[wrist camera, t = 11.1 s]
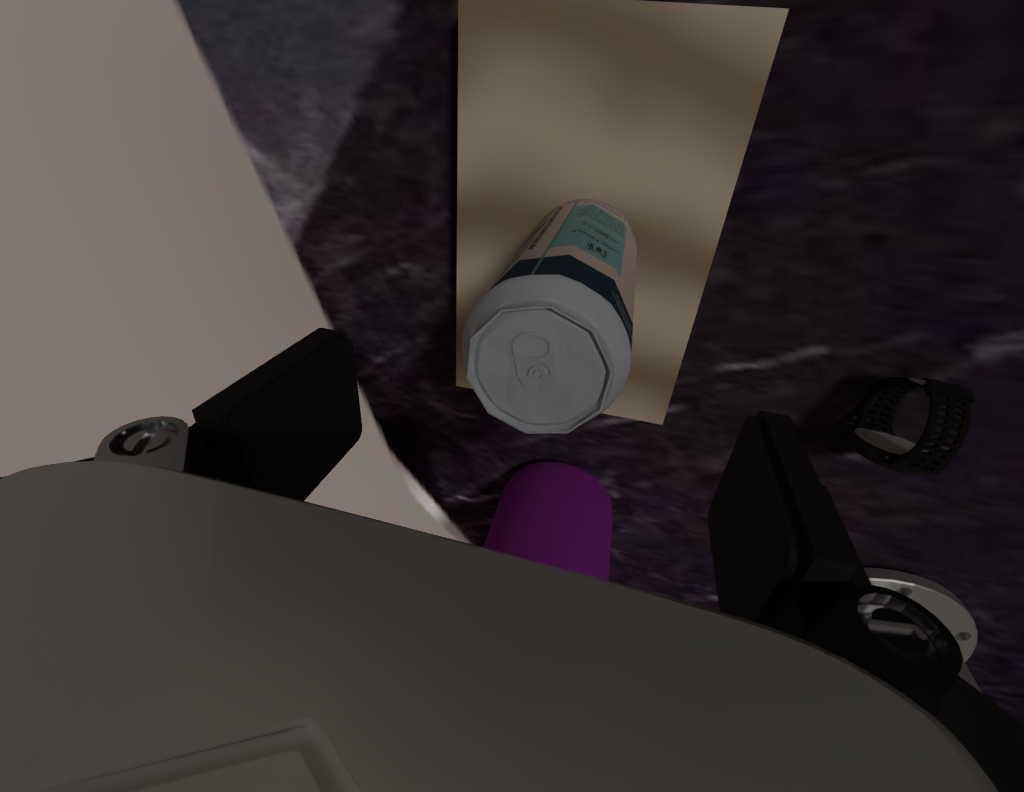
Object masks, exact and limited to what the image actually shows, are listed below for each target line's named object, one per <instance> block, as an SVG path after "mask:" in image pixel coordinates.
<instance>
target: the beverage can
mask: <svg viewBox="0 0 1024 792" xmlns="http://www.w3.org/2000/svg"><path fill="white" fill-rule="evenodd" d="M611 534H612V505H611V499H610V497H609V495H608V493H607V491H606V489H605V487H604V486H603V485H602V484H601V483H600V482H599V481H598V480H597V479H596V478H595V477H594V476H593V475H591V474H589V473H587V472H586V471H584V470H582V469H580V468H579V467H575V466H572V465H568V464H565V463H561V462H539V463H535V464H531V465H527V466H525V467H524V468H522V469H520V470H519V471H517V472H515V473H514V475H513V476H512V477H511V479H510V480H509V481H508V483H507V484H506V486H505V488H504V490H503V493H502V496H501V499H500V501H499V504H498V507H497V510H496V513H495V515H494V518H493V521H492V524H491V527H490V530H489V532H488V535H487V538H486V541H485V544H484V546H483V548H487V549H491V550H494V551H498V552H502V553H506V554H510V555H513V556H517V557H521V558H525V559H528V560H532V561H536V562H540V563H543V564H547V565H551V566H555V567H558V568H562V569H566V570H570V571H573V572H577V573H581V574H585V575H588V576H592V577H596V578H600V579H603V580H607V581H608V575H609V561H610V548H611Z"/></svg>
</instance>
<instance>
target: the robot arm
mask: <svg viewBox="0 0 1024 792" xmlns="http://www.w3.org/2000/svg"><path fill="white" fill-rule="evenodd" d="M192 412H193V415H194V418H195V421H196V423H195V424H193V425H192V426H190V427H188V425H187V423H185V422H184V421H183V420H181V419H178V418H175V417H164V416H162V417H151V418H146V419H142V420H137V421H135V422H132V423H129V424H126V425H123V426H122V427H120V428H118V429H116V430H114V431H112V432H111V433H110V434H109V435H107V436H106V437H105V438H104V439H103V441H102V442H101V443H100V445H99V447H98V450H97V453H96V455H95V457H93V458H88V459H84V460H79V461H75V462H66V463H58V464H51V465H45V466H39V467H33V468H29V469H26V470H22V471H19V472H17V473H14V474H11V475H9V476H6V477H1V478H0V792H1024V725H1023V724H1021V723H1020V722H1019V721H1017V720H1016V719H1015V718H1013V717H1012V716H1011V715H1010V714H1008V713H1007V712H1006V711H1004V710H1003V709H1002V708H1000V707H999V706H998V705H997V704H995V703H994V702H993V701H991V700H990V699H989V698H988V697H986V696H985V695H984V694H982V692H981V691H980V689H979V687H978V685H977V683H976V682H975V680H974V678H973V676H972V675H971V673H970V671H969V669H968V668H967V666H966V664H965V662H966V661H967V659H968V658H969V657H970V656H971V655H972V653H973V651H974V649H975V647H976V644H977V634H978V631H977V628H976V626H975V623H974V620H973V618H972V617H971V615H970V614H969V612H968V611H967V609H966V607H965V606H964V604H963V603H962V602H961V601H960V600H959V599H958V598H957V597H956V596H955V595H954V594H953V593H952V592H950V591H949V590H947V589H945V588H944V587H942V586H941V585H939V584H937V583H935V582H933V581H930V580H928V579H925V578H923V577H920V576H917V575H913V574H909V573H905V572H901V571H897V570H889V569H881V568H864V567H863V565H862V563H861V561H860V558H859V556H858V554H857V552H856V550H855V548H854V545H853V543H852V541H851V539H850V537H849V535H848V532H847V530H846V528H845V526H844V524H843V522H842V519H841V517H840V515H839V513H838V511H837V508H836V506H835V504H834V502H833V500H832V498H831V495H830V493H829V491H828V490H827V488H826V487H825V486H823V485H822V484H821V483H820V481H819V478H818V476H817V474H816V472H815V470H814V467H813V465H812V463H811V461H810V458H809V456H808V454H807V452H806V449H805V447H804V445H803V443H802V441H801V438H800V436H799V434H798V432H797V429H796V427H795V425H794V423H793V420H792V419H791V417H790V416H786V415H781V414H775V413H770V412H765V411H760V412H758V414H757V415H756V416H750V415H749V416H748V417H747V418H746V420H745V422H744V424H743V427H742V429H741V431H740V434H739V436H738V439H737V441H736V444H735V446H734V449H733V451H732V453H731V456H730V458H729V461H728V463H727V466H726V468H725V471H724V473H723V475H722V478H721V480H720V483H719V485H718V488H717V490H716V493H715V495H714V497H713V500H712V502H711V505H710V508H709V513H708V526H709V533H710V541H711V549H712V556H713V564H714V571H715V579H716V587H717V594H718V602H719V609H720V611H716V610H713V609H710V608H706V607H703V606H700V605H696V604H693V603H690V602H686V601H682V600H678V599H674V598H671V597H667V596H663V595H659V594H656V593H652V592H648V591H645V590H641V589H637V588H633V587H630V586H626V585H622V584H618V583H615V582H611V581H607V580H603V579H600V578H596V577H592V576H588V575H585V574H581V573H577V572H573V571H570V570H566V569H562V568H558V567H555V566H551V565H547V564H543V563H540V562H536V561H532V560H528V559H525V558H521V557H517V556H513V555H510V554H506V553H502V552H498V551H494V550H491V549H487V548H483V547H479V546H475V545H471V544H468V543H464V542H460V541H456V540H452V539H448V538H445V537H441V536H437V535H433V534H429V533H426V532H422V531H418V530H414V529H410V528H406V527H402V526H398V525H395V524H391V523H387V522H383V521H379V520H375V519H372V518H367V517H363V516H360V515H356V514H352V513H348V512H344V511H340V510H336V509H332V508H328V507H324V506H321V505H316V504H312V503H309V502H305V501H304V500H305V499H306V498H307V497H308V496H309V495H310V494H311V492H312V491H313V490H314V489H315V488H316V487H317V486H318V485H319V483H320V482H321V481H322V480H323V479H324V478H325V477H326V476H327V475H328V474H329V472H330V471H331V470H332V469H333V468H334V467H335V466H336V465H337V463H338V462H339V461H340V460H341V459H342V458H343V457H344V456H345V455H346V453H347V452H348V451H349V450H350V449H351V448H352V447H353V446H354V444H355V443H356V442H357V441H358V440H359V438H360V435H361V432H362V422H361V413H360V404H359V395H358V386H357V377H356V368H355V359H354V351H353V344H352V341H351V340H350V339H347V336H346V334H345V333H344V332H341V331H336V330H331V329H325V328H319V329H317V330H316V331H314V332H312V333H311V334H309V335H308V336H306V337H304V338H303V339H301V340H300V341H299V342H297V343H295V344H294V345H292V346H291V347H289V348H287V349H286V350H284V351H283V352H281V353H280V354H278V355H277V356H275V357H273V358H272V359H270V360H269V361H267V362H266V363H264V364H263V365H261V366H259V367H258V368H256V369H255V370H254V371H252V372H250V373H249V374H247V375H246V376H244V377H242V378H241V379H239V380H238V381H236V382H235V383H233V384H232V385H230V386H229V387H227V388H226V389H224V390H222V391H221V392H219V393H218V394H216V395H215V396H213V397H212V398H210V399H209V400H207V401H205V402H204V403H202V404H201V405H199V406H198V407H196V408H195V409H193V410H192Z"/></svg>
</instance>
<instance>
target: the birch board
mask: <svg viewBox="0 0 1024 792" xmlns="http://www.w3.org/2000/svg"><path fill="white" fill-rule="evenodd" d="M788 10H789V9H784V8H765V7H747V6H728V5H710V4H691V3H673V2H655V1H636V0H459V7H458V158H457V310H456V386H460V387H465V388H471V389H473V387H472V386H471V384H470V383H469V381H468V379H467V371H466V368H465V365H464V359H463V350H462V338H463V330H464V327H465V323H466V321H467V319H468V316H469V314H470V312H471V310H472V308H473V307H474V306H475V304H476V303H477V302H478V301H479V300H480V299H481V298H482V297H483V296H484V294H485V293H486V292H487V291H488V290H489V289H490V288H491V286H492V285H493V284H494V283H495V281H496V280H497V279H498V277H499V276H500V275H501V274H502V272H503V271H504V270H505V269H506V267H507V266H508V265H509V264H510V262H511V261H512V260H513V259H514V257H515V256H516V255H517V254H518V252H519V251H520V250H521V248H522V247H523V246H524V245H525V243H526V242H527V241H528V240H529V238H530V237H531V236H532V235H533V233H534V232H535V231H536V230H537V228H538V227H539V225H540V224H541V222H542V221H543V220H544V219H545V217H546V216H547V215H548V214H549V213H550V212H551V211H552V210H554V209H555V208H556V207H558V206H559V205H561V204H563V203H566V202H569V201H573V200H577V199H595V200H598V201H602V202H605V203H607V204H609V205H611V206H612V207H614V208H615V209H617V210H618V211H620V212H621V214H622V215H623V216H624V217H625V218H626V219H627V221H628V222H629V224H630V226H631V227H632V230H633V233H634V236H635V238H636V245H637V257H636V276H635V295H634V315H633V334H632V353H631V365H630V372H629V375H628V378H627V381H626V384H625V386H624V388H623V390H622V392H621V394H620V395H619V396H618V398H617V399H616V400H615V401H614V403H613V404H612V405H611V406H610V407H609V408H608V409H607V410H605V411H603V412H602V413H603V414H609V415H614V416H619V417H625V418H630V419H635V420H641V421H646V422H651V423H657V424H663V421H664V418H665V415H666V411H667V408H668V405H669V401H670V398H671V395H672V391H673V388H674V385H675V382H676V378H677V375H678V372H679V368H680V365H681V362H682V359H683V355H684V352H685V349H686V345H687V342H688V339H689V336H690V332H691V329H692V326H693V322H694V319H695V316H696V313H697V309H698V306H699V303H700V299H701V296H702V293H703V290H704V286H705V283H706V280H707V276H708V273H709V270H710V266H711V263H712V260H713V257H714V253H715V250H716V247H717V243H718V240H719V237H720V234H721V230H722V227H723V224H724V220H725V217H726V214H727V211H728V207H729V204H730V201H731V197H732V194H733V191H734V188H735V184H736V181H737V178H738V174H739V171H740V168H741V165H742V161H743V158H744V155H745V151H746V148H747V145H748V141H749V138H750V135H751V132H752V128H753V125H754V122H755V118H756V115H757V112H758V109H759V105H760V102H761V99H762V95H763V92H764V89H765V86H766V82H767V79H768V76H769V72H770V69H771V66H772V63H773V59H774V56H775V53H776V49H777V46H778V43H779V40H780V36H781V33H782V30H783V26H784V23H785V20H786V16H787V13H788Z"/></svg>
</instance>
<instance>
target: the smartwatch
mask: <svg viewBox="0 0 1024 792" xmlns="http://www.w3.org/2000/svg"><path fill="white" fill-rule="evenodd" d="M900 387H901V388H900ZM921 387H924V390H925V393H926V395H928V396H930V411H929V416H928V420H927V423H926V426H925V429H924V432H923V434H922V435H921V437H920V439H919V441H918V442H917V444H914V443H912V442H910V441H907V440H905V439H902V438H900V437H898V436H895V435H894V433H893V429H892V422H893V417H894V414H895V411H896V409H897V407H898V406H899V404H900V402H901V400H902V399H903V398H904V397H905V396H906V395H907V394H908V393H910V392H911V391H913V390H914V389H917V388H921ZM884 388H888V389H884ZM903 388H904V389H903ZM894 390H897V391H900V392H896V391H894ZM876 392H885V393H884V394H878V393H876ZM890 394H894V395H896V396H897V397H895V398H894V397H892V396H889V395H890ZM874 397H881V399H880V400H875V399H873V398H874ZM939 398H943V399H946V400H947V401H940V400H939ZM887 399H889V400H892V401H893V403H892V404H891V403H888V402H885V401H886V400H887ZM954 401H956V402H959V403H961V404H962V405H959V404H957V403H955V402H954ZM974 401H975V399H974V396H973V393H972V391H971V390H970V389H967V388H966V387H964V386H960V385H955V384H947V383H943V382H940V381H937V380H934V379H928V378H922V379H914V378H904V377H890V378H886V379H884V380H881V381H880V382H878V383H877V384H876V385H875V386H873V388H872V389H871V390H870V392H869V394H868V395H867V397H866V399H865V401H864V403H863V405H862V407H861V410H860V412H859V414H858V416H857V419H856V421H855V424H854V427H853V430H849V431H848V433H847V435H848V436H847V441H848V444H849V446H850V447H851V448H852V449H853V450H854V451H855V452H857V453H859V454H860V455H862V456H863V457H865V458H867V459H869V460H870V461H872V462H875V463H877V464H879V465H881V466H884V467H886V468H889V469H892V470H895V471H898V472H901V473H905V474H910V475H918V476H922V475H929V474H933V475H938V474H940V473H941V472H942V471H943V470H944V469H945V468H946V466H947V465H948V464H949V463H950V461H951V460H952V459H953V457H954V456H955V455H956V453H957V452H958V451H959V449H960V448H961V446H962V444H963V442H964V440H965V438H966V435H967V433H968V429H969V426H970V420H971V404H972V403H973V402H974ZM871 403H874V404H878V405H877V406H876V407H874V406H870V404H871ZM939 404H940V405H946V406H947V408H940V407H939ZM883 405H885V406H888V407H889V408H890V409H889V410H886V409H883V408H882V407H883ZM954 407H955V408H958V409H960V410H962V412H963V413H961V412H959V411H957V410H954ZM868 410H874V412H873V413H867V411H868ZM938 411H943V412H946V416H942V415H938ZM880 412H883V413H885V414H887V416H886V417H884V416H881V415H880ZM954 414H955V415H958V416H961V418H962V420H960V419H957V418H954ZM866 417H871V418H872V420H871V421H867V420H866ZM937 419H944V420H945V423H944V424H941V423H936V420H937ZM879 421H881V422H882V423H884V424H882V423H879ZM953 422H955V423H958V424H960V426H959V428H957V427H955V426H953ZM865 424H869V425H870V427H866V426H865ZM878 427H879V428H882V430H881V429H878ZM935 427H943V430H942V431H936V430H934V429H935ZM951 429H952V430H954V431H957V432H958V435H956V436H955V435H952V434H950V433H949V432H950V430H951ZM931 435H940V437H939V438H938V439H937V438H930V436H931ZM948 437H949V438H951V439H954V441H953V443H950V442H947V441H946V439H947V438H948ZM926 443H935V445H933V446H930V445H926ZM942 446H947V447H949V448H950V450H945V449H942V448H941V447H942ZM937 453H940V454H943V455H944V456H939V455H937Z"/></svg>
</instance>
